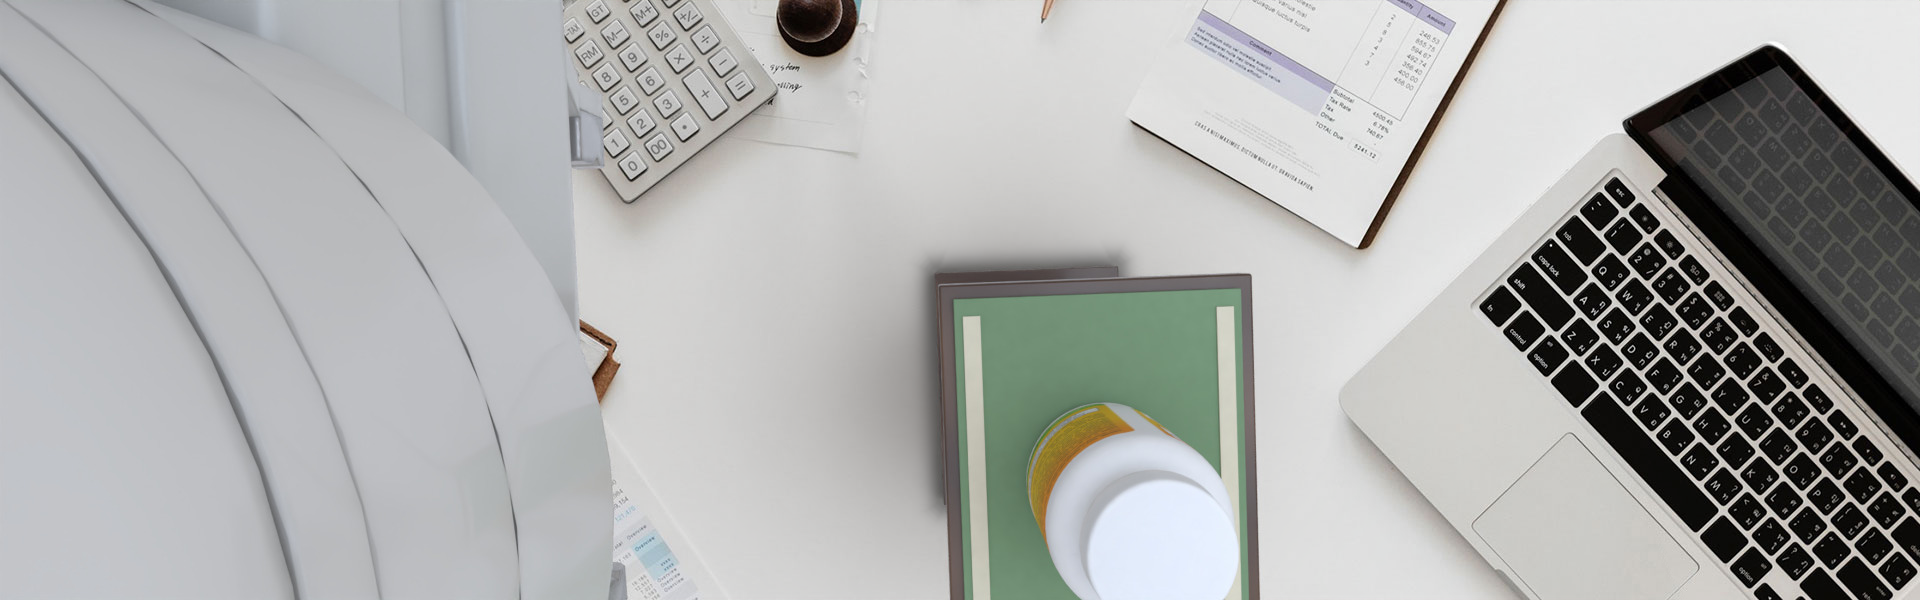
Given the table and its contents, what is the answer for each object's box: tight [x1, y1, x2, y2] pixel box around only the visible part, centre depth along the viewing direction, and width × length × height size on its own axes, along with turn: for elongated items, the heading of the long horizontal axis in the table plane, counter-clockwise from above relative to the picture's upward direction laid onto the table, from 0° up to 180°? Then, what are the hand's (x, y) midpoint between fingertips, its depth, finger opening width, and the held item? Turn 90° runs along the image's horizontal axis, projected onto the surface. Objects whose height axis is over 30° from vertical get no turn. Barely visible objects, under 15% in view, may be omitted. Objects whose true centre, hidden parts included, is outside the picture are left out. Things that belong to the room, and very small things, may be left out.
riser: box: [934, 265, 1261, 600], centre depth 51 cm, size 14×11×28 cm
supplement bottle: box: [1026, 402, 1239, 600], centre depth 32 cm, size 5×5×10 cm
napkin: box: [953, 288, 1249, 600], centre depth 37 cm, size 13×10×1 cm
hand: (577, 367), depth 21 cm, fingers open, 8 cm apart
